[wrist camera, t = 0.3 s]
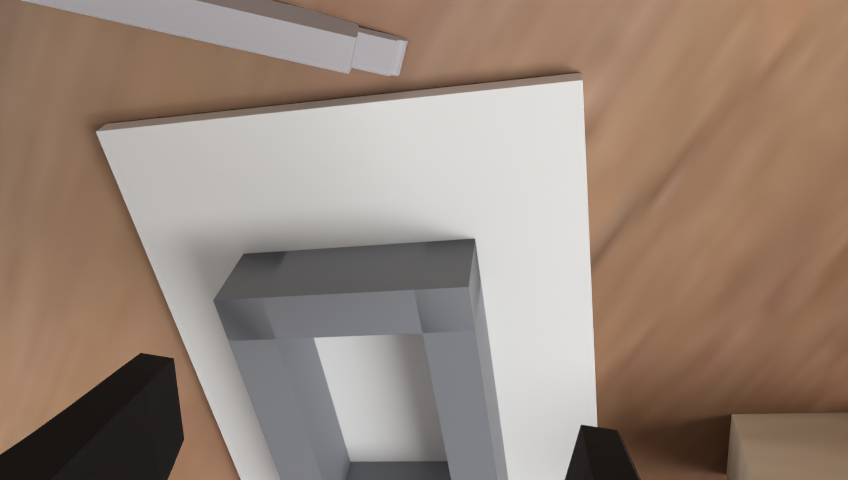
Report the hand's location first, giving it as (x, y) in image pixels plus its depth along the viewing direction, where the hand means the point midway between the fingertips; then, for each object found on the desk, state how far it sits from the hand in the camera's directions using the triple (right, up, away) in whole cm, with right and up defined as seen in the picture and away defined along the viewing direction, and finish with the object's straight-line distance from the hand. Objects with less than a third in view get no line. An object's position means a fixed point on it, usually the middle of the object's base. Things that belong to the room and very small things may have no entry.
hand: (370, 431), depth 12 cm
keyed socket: (0, -1, +12) cm, 13 cm away
